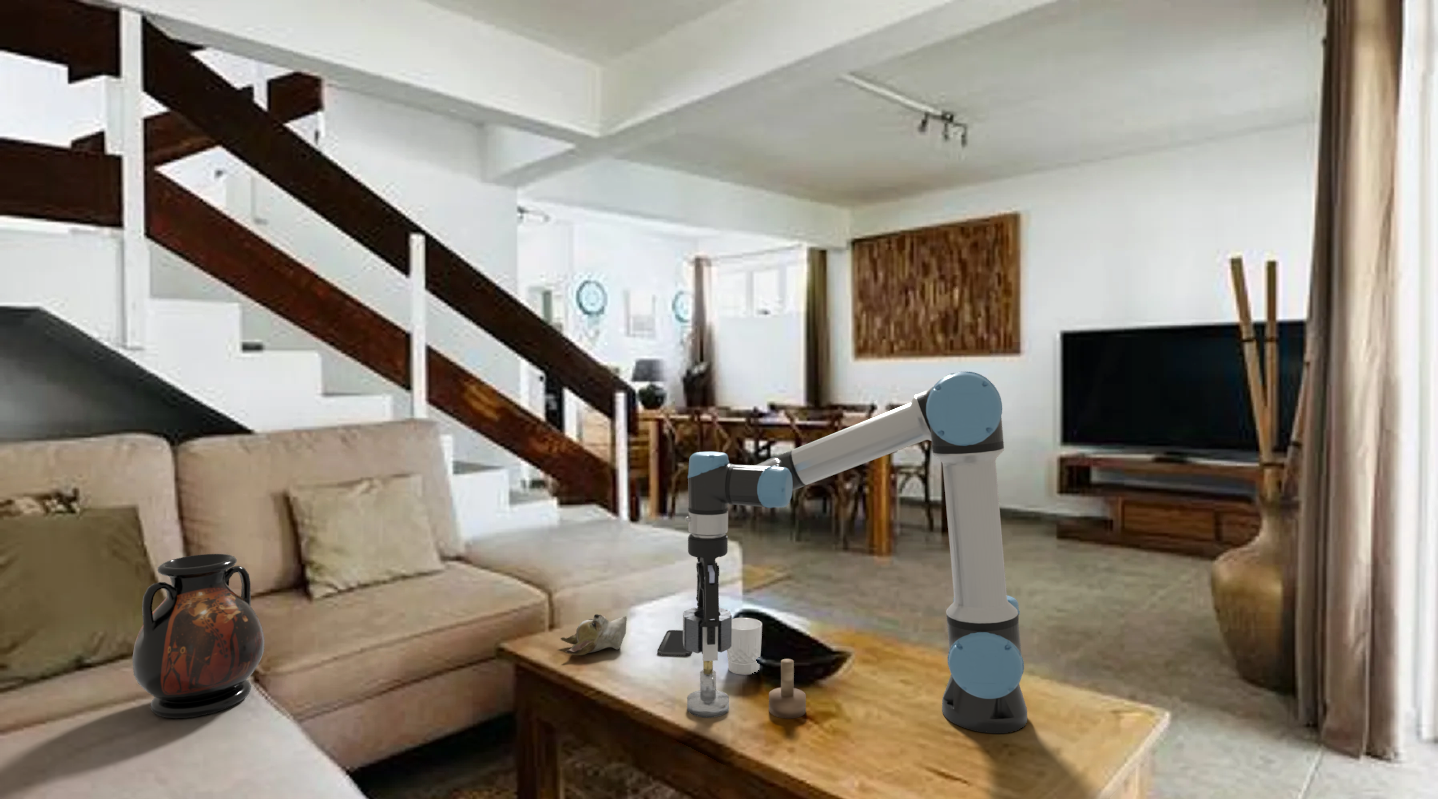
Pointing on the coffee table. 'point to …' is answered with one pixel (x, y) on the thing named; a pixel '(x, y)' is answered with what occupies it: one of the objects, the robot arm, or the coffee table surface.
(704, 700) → the brass-tipped marble post
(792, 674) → the stand
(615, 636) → the ceramic sculpture
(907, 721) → the coffee table surface
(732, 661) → the white cup
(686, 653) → the phone
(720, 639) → the collar
